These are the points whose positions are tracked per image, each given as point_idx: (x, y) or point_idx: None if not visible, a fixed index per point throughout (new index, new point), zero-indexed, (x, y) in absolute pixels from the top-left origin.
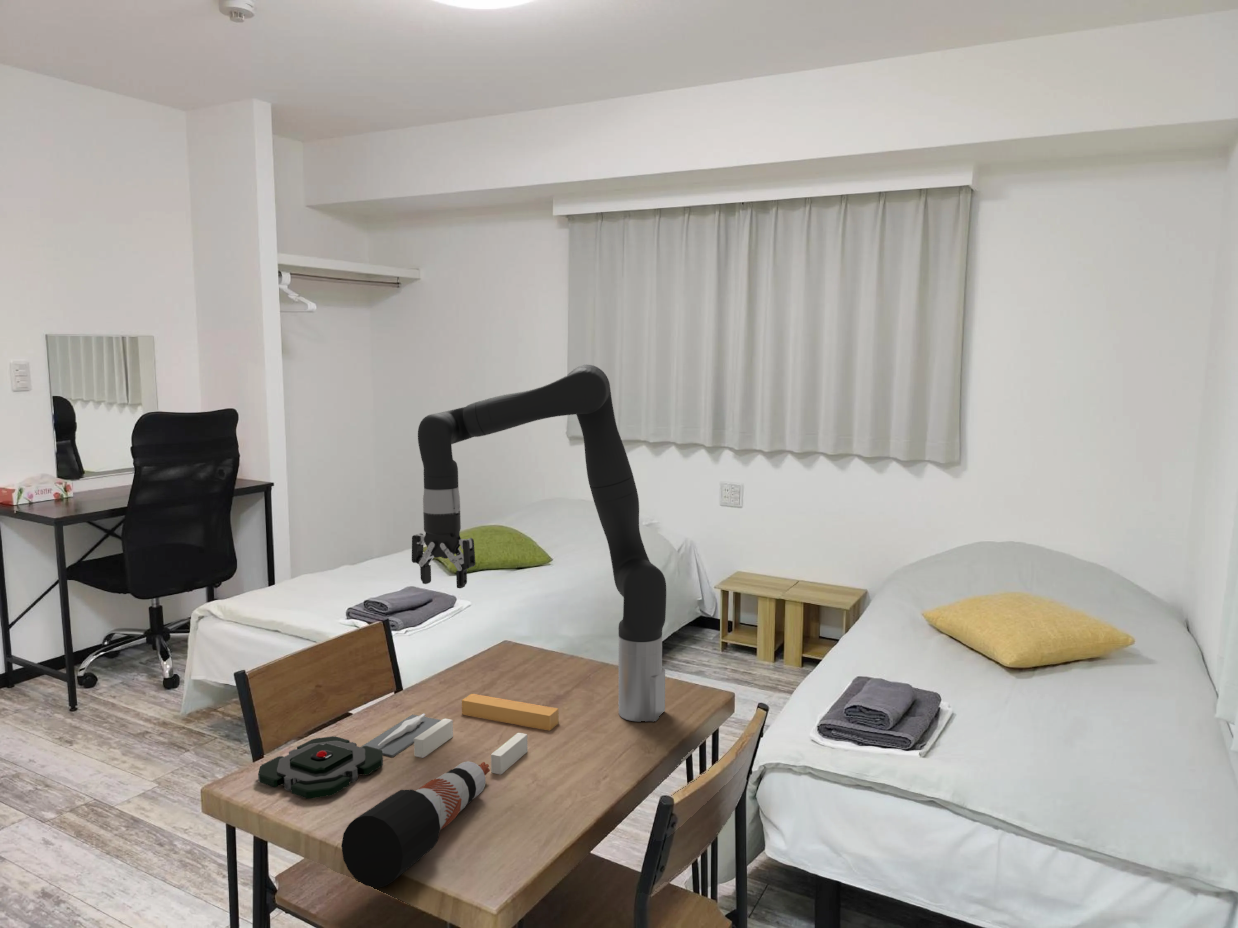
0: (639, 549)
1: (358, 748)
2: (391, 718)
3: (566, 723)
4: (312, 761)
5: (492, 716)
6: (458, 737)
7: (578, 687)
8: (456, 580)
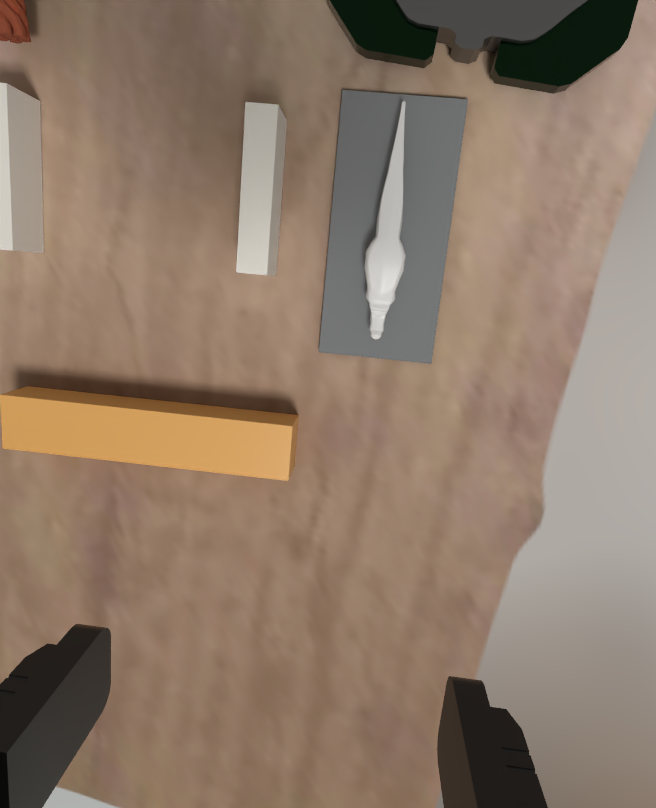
0: None
1: (429, 12)
2: (484, 330)
3: None
4: None
5: (196, 407)
6: (231, 272)
7: None
8: (69, 668)
